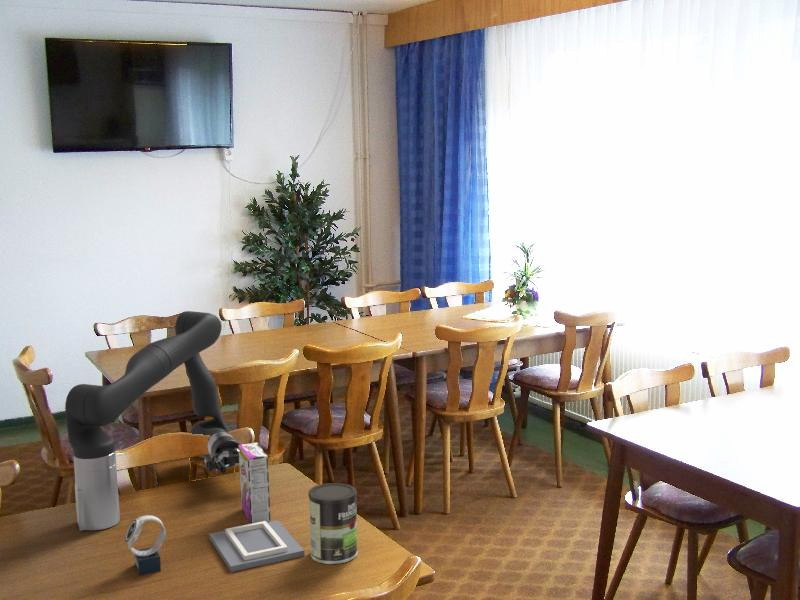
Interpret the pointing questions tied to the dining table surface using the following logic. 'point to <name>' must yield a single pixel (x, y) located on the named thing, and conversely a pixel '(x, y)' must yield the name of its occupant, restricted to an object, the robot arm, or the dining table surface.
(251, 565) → the collar plate
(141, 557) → the watch
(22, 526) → the dining table surface
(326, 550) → the coffee can
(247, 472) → the candy bar box
